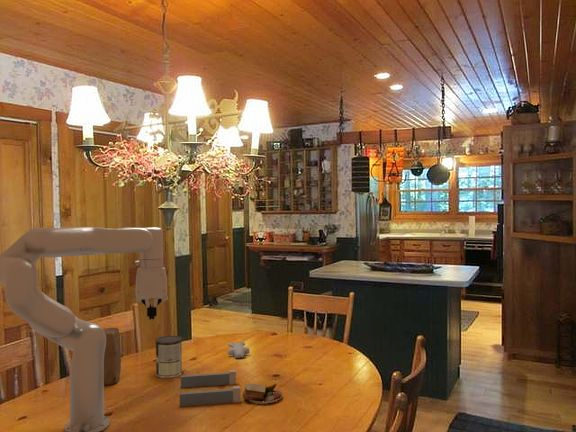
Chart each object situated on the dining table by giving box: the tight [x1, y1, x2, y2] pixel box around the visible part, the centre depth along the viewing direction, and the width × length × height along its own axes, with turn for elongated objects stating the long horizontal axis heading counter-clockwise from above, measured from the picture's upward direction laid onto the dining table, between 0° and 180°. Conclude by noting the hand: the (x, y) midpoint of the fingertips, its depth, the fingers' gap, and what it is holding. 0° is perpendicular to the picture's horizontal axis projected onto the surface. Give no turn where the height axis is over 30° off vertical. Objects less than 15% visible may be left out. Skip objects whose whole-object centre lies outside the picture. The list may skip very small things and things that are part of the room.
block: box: [102, 327, 122, 386], centre depth 191 cm, size 11×8×20 cm
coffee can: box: [155, 335, 183, 379], centre depth 199 cm, size 10×10×14 cm
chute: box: [179, 369, 241, 407], centre depth 177 cm, size 19×20×5 cm
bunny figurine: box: [227, 341, 250, 359], centre depth 225 cm, size 10×5×15 cm
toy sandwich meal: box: [242, 382, 283, 405], centre depth 173 cm, size 12×14×5 cm
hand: (151, 318), depth 167 cm, fingers closed
